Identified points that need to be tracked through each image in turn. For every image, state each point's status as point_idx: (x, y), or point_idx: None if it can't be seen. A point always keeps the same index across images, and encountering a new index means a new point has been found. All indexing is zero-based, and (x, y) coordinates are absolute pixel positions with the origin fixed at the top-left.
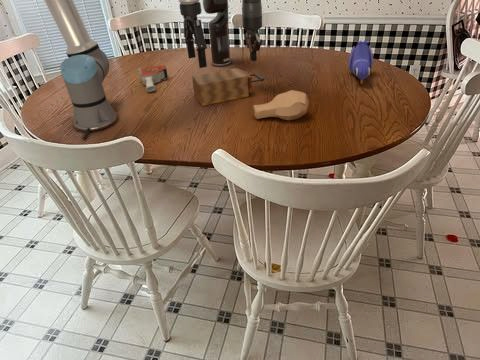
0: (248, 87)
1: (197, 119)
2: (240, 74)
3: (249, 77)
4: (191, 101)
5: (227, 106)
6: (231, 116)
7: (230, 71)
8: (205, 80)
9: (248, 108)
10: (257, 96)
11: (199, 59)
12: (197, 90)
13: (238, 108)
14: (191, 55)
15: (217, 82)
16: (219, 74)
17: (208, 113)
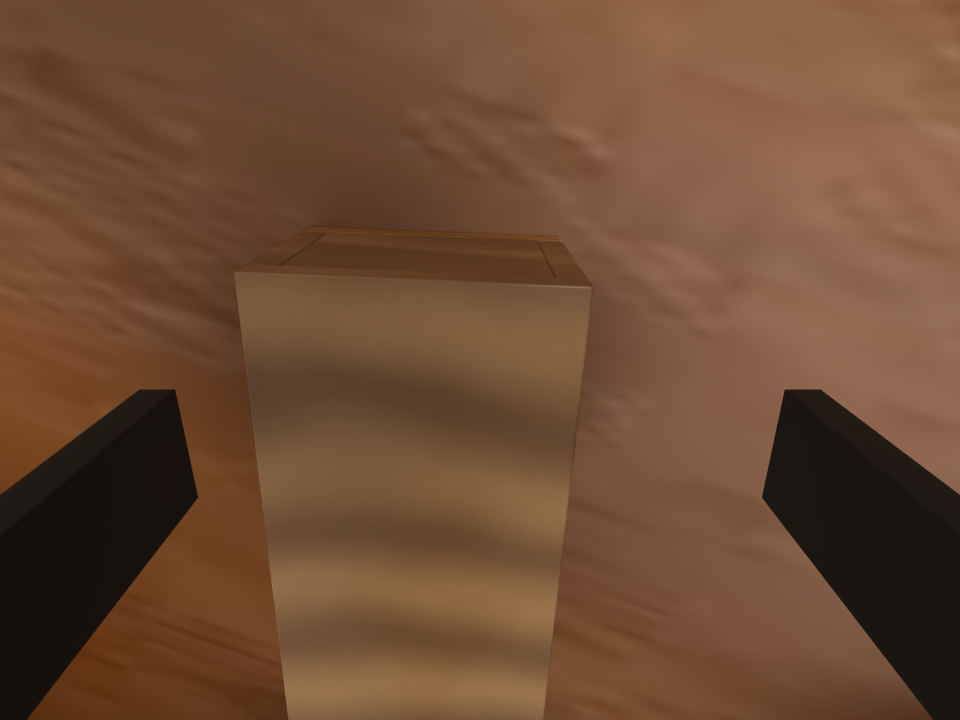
0: None
1: (40, 90)
2: (352, 694)
3: None
4: (455, 168)
5: (217, 400)
6: (26, 362)
7: (483, 658)
8: (355, 379)
9: None
10: None
11: (30, 481)
12: (403, 252)
13: None
14: (799, 460)
15: (261, 468)
16: (460, 555)
17: (135, 223)
